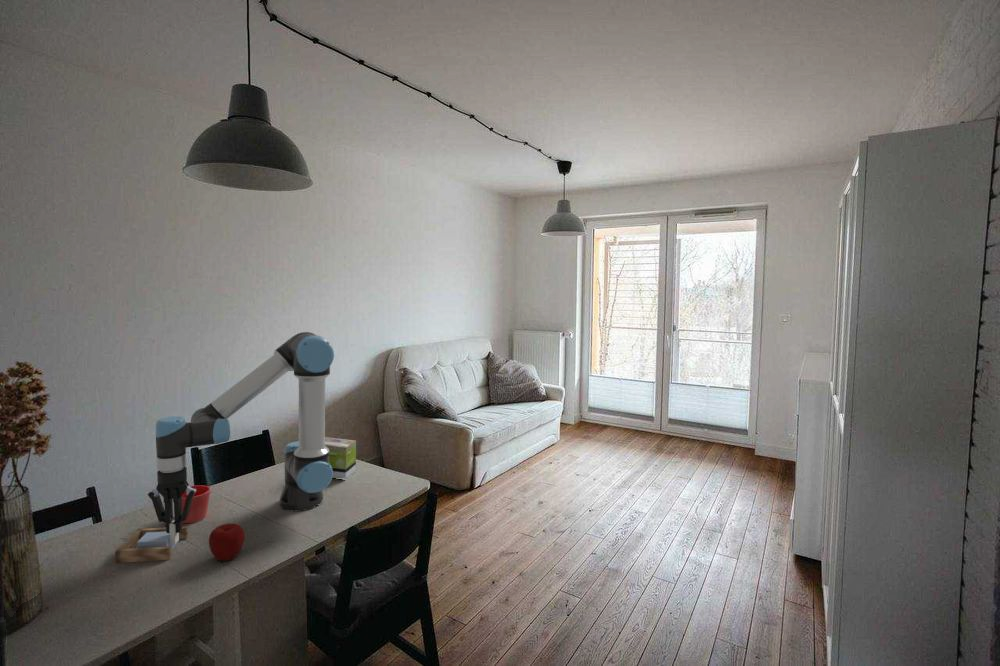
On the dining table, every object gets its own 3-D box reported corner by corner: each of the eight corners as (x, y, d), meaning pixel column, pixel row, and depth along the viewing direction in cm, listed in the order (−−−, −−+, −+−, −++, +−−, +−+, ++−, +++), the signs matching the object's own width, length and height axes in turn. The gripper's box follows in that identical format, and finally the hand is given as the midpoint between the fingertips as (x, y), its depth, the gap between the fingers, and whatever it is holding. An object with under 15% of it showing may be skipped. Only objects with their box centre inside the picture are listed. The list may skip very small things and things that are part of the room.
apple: (221, 548, 159) (220, 517, 158) (251, 549, 159) (251, 519, 157) (202, 565, 149) (201, 532, 148) (234, 567, 149) (234, 534, 148)
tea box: (312, 477, 215) (312, 443, 214) (324, 468, 225) (324, 436, 223) (345, 481, 213) (346, 446, 211) (356, 472, 223) (356, 439, 221)
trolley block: (176, 543, 161) (176, 530, 160) (166, 556, 154) (165, 541, 153) (148, 545, 159) (147, 531, 159) (136, 557, 152) (135, 543, 152)
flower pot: (177, 513, 180) (176, 487, 179) (212, 509, 184) (212, 483, 183) (171, 527, 170) (170, 499, 169) (209, 522, 174) (208, 495, 173)
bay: (188, 536, 165) (187, 526, 164) (169, 559, 152) (169, 548, 151) (139, 539, 162) (138, 528, 162) (115, 562, 149) (115, 551, 149)
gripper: (200, 463, 160) (202, 534, 163) (154, 464, 157) (156, 537, 160) (190, 472, 153) (192, 547, 155) (141, 473, 150) (145, 549, 153)
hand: (174, 542), depth 158 cm, fingers closed
